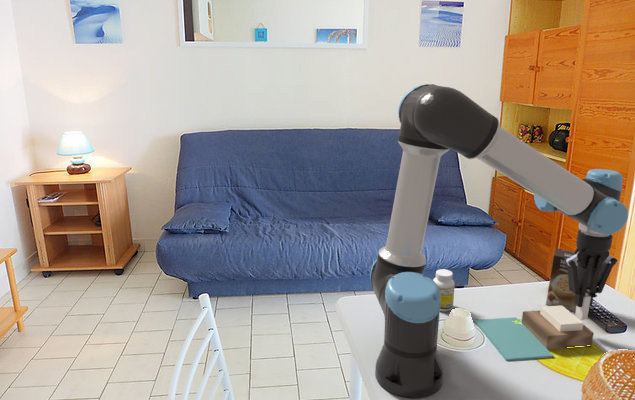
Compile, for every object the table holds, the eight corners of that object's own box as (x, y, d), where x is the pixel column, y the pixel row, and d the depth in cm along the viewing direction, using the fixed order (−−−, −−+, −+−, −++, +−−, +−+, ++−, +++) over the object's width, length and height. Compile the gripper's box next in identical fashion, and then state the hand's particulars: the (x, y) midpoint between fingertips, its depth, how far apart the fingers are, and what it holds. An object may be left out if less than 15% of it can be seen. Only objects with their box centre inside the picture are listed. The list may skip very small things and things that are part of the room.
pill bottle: (435, 299, 143) (437, 266, 140) (455, 305, 140) (458, 271, 137) (428, 308, 138) (430, 273, 135) (448, 314, 135) (451, 279, 132)
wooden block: (546, 350, 118) (548, 335, 117) (521, 324, 129) (522, 311, 128) (591, 346, 119) (593, 332, 118) (562, 321, 131) (564, 308, 129)
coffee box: (544, 305, 140) (552, 254, 135) (547, 296, 145) (554, 247, 140) (580, 313, 135) (588, 261, 130) (581, 304, 140) (590, 253, 135)
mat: (506, 360, 114) (506, 358, 114) (474, 321, 131) (474, 319, 131) (553, 357, 115) (553, 355, 115) (515, 318, 132) (515, 317, 132)
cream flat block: (559, 331, 119) (560, 324, 118) (539, 313, 127) (540, 306, 127) (582, 330, 119) (583, 323, 119) (561, 312, 128) (562, 305, 127)
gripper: (580, 238, 113) (566, 326, 119) (631, 236, 114) (614, 323, 121) (561, 227, 120) (549, 311, 126) (609, 225, 121) (594, 308, 128)
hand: (581, 316), depth 123 cm, fingers closed
